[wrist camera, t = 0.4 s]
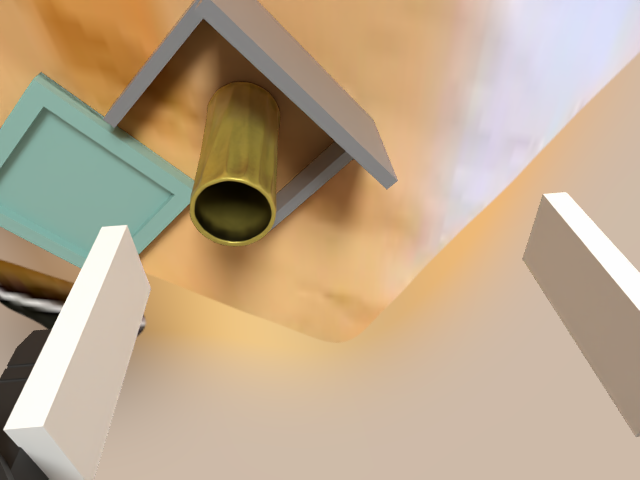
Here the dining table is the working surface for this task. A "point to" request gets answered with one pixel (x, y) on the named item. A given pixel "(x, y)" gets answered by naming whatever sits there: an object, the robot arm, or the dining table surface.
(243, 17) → the dock
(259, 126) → the vase
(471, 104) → the dining table surface
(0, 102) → the dining table surface
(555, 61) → the dining table surface
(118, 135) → the tray
